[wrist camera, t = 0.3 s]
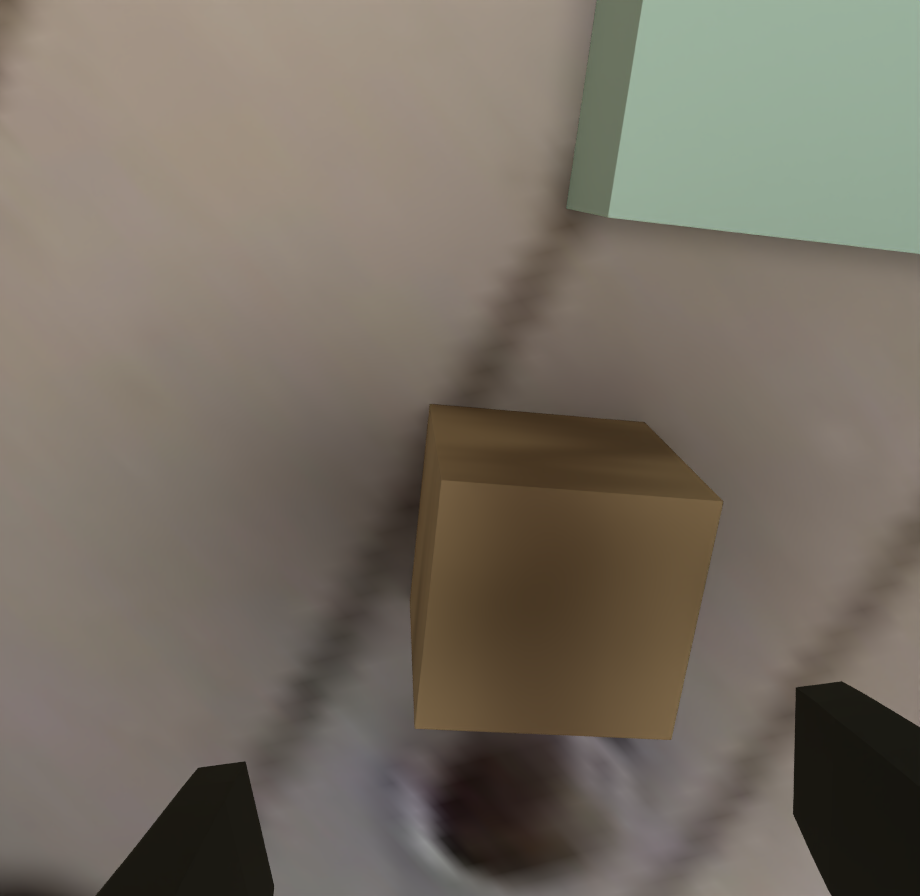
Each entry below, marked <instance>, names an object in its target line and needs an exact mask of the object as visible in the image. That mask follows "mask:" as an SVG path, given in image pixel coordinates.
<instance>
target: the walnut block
mask: <svg viewBox="0 0 920 896" xmlns="http://www.w3.org/2000/svg"><path fill="white" fill-rule="evenodd" d="M722 505H723V501H722V500H721V499H720V498H719V497H718V496H717V495H716V494H715V493H714V492H713V491H712V490H711V489H710V488H709V487H708V486H707V485H706V484H705V483H704V482H703V481H702V480H701V479H700V478H699V476H698V475H697V474H696V473H695V472H694V471H693V470H692V469H691V468H690V467H689V466H688V465H687V464H686V463H685V462H684V461H683V460H682V459H681V458H680V457H679V456H678V455H677V454H676V453H675V452H674V451H673V450H672V449H671V448H670V447H669V446H668V445H667V444H666V443H665V442H664V441H663V440H662V439H661V438H660V437H659V436H658V435H657V434H656V433H655V432H654V431H653V430H652V429H651V428H650V427H649V426H648V425H647V424H646V423H645V422H636V421H624V420H612V419H601V418H589V417H577V416H566V415H554V414H542V413H530V412H519V411H507V410H495V409H484V408H472V407H460V406H448V405H437V404H430V406H429V416H428V426H427V436H426V446H425V456H424V466H423V476H422V486H421V496H420V506H419V516H418V526H417V536H416V545H415V555H414V565H413V575H412V585H411V595H410V618H411V644H412V671H413V697H414V724H415V729H436V730H459V731H481V732H504V733H526V734H549V735H572V736H594V737H617V738H639V739H662V740H671V738H672V734H673V729H674V724H675V720H676V715H677V711H678V706H679V702H680V697H681V693H682V688H683V683H684V679H685V674H686V670H687V665H688V661H689V656H690V651H691V647H692V642H693V638H694V633H695V629H696V624H697V620H698V615H699V610H700V606H701V601H702V597H703V592H704V588H705V583H706V578H707V574H708V569H709V565H710V560H711V556H712V551H713V546H714V542H715V537H716V533H717V528H718V524H719V519H720V515H721V510H722Z"/></svg>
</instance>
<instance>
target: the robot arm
mask: <svg viewBox="0 0 920 896" xmlns="http://www.w3.org/2000/svg"><path fill="white" fill-rule="evenodd" d="M793 815H794V817H795V819H796V821H797V824H798V826H799V828H800V830H801V833H802V835H803V837H804V839H805V841H806V844H807V846H808V848H809V850H810V853H811V855H812V857H813V859H814V861H815V863H816V865H817V867H818V869H819V872H820V874H821V876H822V878H823V880H824V882H825V884H826V886H827V888H828V890H829V892H830V894H831V895H832V896H920V727H918V726H917V725H915V724H913V723H912V722H910V721H908V720H907V719H905V718H904V717H902V716H900V715H899V714H897V713H895V712H894V711H892V710H890V709H889V708H887V707H885V706H884V705H882V704H880V703H879V702H877V701H875V700H874V699H872V698H870V697H869V696H867V695H865V694H863V693H862V692H860V691H858V690H857V689H855V688H853V687H851V686H849V685H847V684H846V683H844V682H842V681H841V682H834V683H826V684H819V685H812V686H804V687H797V688H796V708H795V754H794V799H793ZM273 893H274V883H273V879H272V874H271V870H270V866H269V861H268V857H267V853H266V849H265V844H264V840H263V836H262V831H261V827H260V823H259V818H258V814H257V810H256V805H255V801H254V797H253V792H252V788H251V784H250V779H249V775H248V771H247V766H246V762H238V763H230V764H223V765H215V766H208V767H201V768H198V769H197V770H196V771H195V772H194V774H193V775H192V776H191V777H190V778H189V780H188V781H187V782H186V783H185V785H184V786H183V787H182V788H181V789H180V791H179V792H178V793H177V794H176V796H175V797H174V798H173V800H172V801H171V802H170V803H169V805H168V806H167V807H166V809H165V810H164V811H163V812H162V814H161V815H160V816H159V817H158V819H157V820H156V821H155V823H154V824H153V825H152V826H151V828H150V829H149V830H148V832H147V833H146V834H145V835H144V837H143V838H142V839H141V840H140V842H139V843H138V844H137V845H136V847H135V848H134V849H133V851H132V852H131V853H130V854H129V856H128V857H127V858H126V859H125V860H124V862H123V863H122V864H121V865H120V867H119V868H118V869H117V870H116V871H115V873H114V874H113V875H112V876H111V877H110V879H109V880H108V881H107V882H106V884H105V885H104V886H103V887H102V888H101V890H100V891H99V892H98V893H97V895H96V896H273Z"/></svg>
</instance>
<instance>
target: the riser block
mask: <svg viewBox="0 0 920 896" xmlns="http://www.w3.org/2000/svg"><path fill="white" fill-rule="evenodd" d="M566 209H571V210H576V211H580V212H585V213H590V214H594V215H599V216H604V217H609V218H617V219H626V220H635V221H643V222H652V223H660V224H669V225H677V226H686V227H694V228H703V229H711V230H720V231H729V232H737V233H746V234H754V235H763V236H771V237H780V238H788V239H797V240H806V241H814V242H823V243H831V244H840V245H848V246H857V247H865V248H874V249H883V250H891V251H900V252H908V253H917V254H920V0H597V2H596V9H595V16H594V22H593V29H592V36H591V43H590V50H589V56H588V63H587V70H586V77H585V84H584V90H583V97H582V104H581V111H580V118H579V124H578V131H577V138H576V145H575V152H574V158H573V165H572V172H571V179H570V186H569V192H568V199H567V206H566Z"/></svg>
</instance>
